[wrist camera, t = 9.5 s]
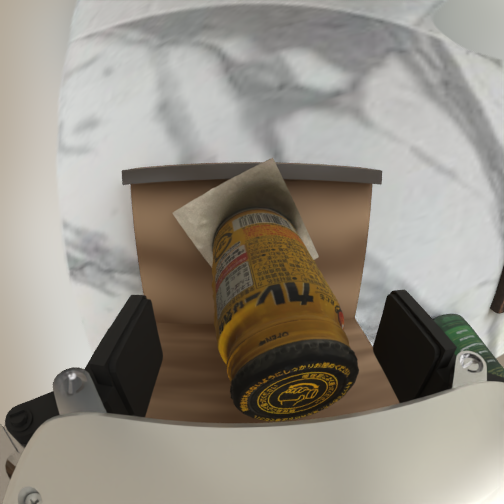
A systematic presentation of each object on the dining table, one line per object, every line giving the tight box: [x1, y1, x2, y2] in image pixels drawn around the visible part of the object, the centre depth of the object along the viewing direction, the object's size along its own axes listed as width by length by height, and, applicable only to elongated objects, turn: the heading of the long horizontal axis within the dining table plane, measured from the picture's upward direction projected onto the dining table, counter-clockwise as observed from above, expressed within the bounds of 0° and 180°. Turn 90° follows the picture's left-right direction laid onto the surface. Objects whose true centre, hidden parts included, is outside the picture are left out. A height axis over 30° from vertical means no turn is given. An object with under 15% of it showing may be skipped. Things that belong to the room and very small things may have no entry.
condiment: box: [172, 158, 359, 421], centre depth 14 cm, size 7×8×12 cm
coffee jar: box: [434, 314, 504, 378], centre depth 20 cm, size 10×8×19 cm
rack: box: [122, 162, 399, 423], centre depth 15 cm, size 14×18×18 cm
